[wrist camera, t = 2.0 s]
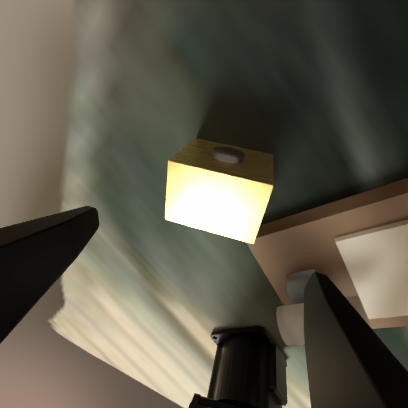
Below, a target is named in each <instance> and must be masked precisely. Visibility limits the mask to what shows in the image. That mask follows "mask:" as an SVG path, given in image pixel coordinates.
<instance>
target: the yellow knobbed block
mask: <svg viewBox="0 0 408 408" xmlns="http://www.w3.org/2000/svg"><path fill="white" fill-rule="evenodd" d="M273 186H274V180H273V154H269V153H264V152H259V151H255V150H250V149H245V148H241V147H236V146H232V145H227V144H222V143H218V142H213V141H209V140H204V139H199V138H196V139H195V140H193V141H192V142H191V143H190V144H188V145H187V146H186V147H185V148H184V149H182V150H181V151H180V152H179V153H177V154H176V155H175V156H174V157H172V158H171V159H170V160H169V161H168V174H167V191H166V209H165V219H166V220H169V221H173V222H177V223H180V224H184V225H187V226H191V227H194V228H198V229H202V230H205V231H209V232H212V233H216V234H219V235H223V236H226V237H230V238H234V239H237V240H241V241H244V242H248V243H251V244H254V241H255V238H256V236H257V233H258V230H259V227H260V224H261V221H262V218H263V215H264V212H265V209H266V206H267V204H268V201H269V198H270V195H271V192H272V189H273Z"/></svg>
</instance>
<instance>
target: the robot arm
mask: <svg viewBox="0 0 408 408" xmlns="http://www.w3.org/2000/svg"><path fill="white" fill-rule="evenodd" d="M98 227H99V218H98V211H97V209H96V208H93V207H90V206H84V207H81V208H77V209H73V210H69V211H65V212H61V213H58V214H54V215H50V216H46V217H42V218H38V219H34V220H30V221H26V222H22V223H19V224H15V225H11V226H7V227H3V228H0V344H1V342H2V341H3V340H4V339H5V338H6V337H7V336H8V334H9V333H10V332H11V331H12V330H13V329H14V328H15V327H16V326H17V324H18V323H19V322H20V321H21V320H22V319H23V318H24V316H25V315H26V314H27V313H28V312H29V311H30V310H31V309H32V308H33V306H34V305H35V304H36V303H37V302H38V301H39V300H40V299H41V297H42V296H43V295H44V294H45V293H46V292H47V291H48V290H49V288H50V287H51V286H52V285H53V284H54V283H55V282H56V280H57V279H58V278H59V277H60V276H61V275H62V274H63V273H64V272H65V270H66V269H67V268H68V267H69V266H70V265H71V264H72V263H73V261H74V260H75V259H76V258H77V257H78V255H79V254H80V253H81V251H82V250H83V249H84V247H85V246H86V245H87V243H88V242H89V240H90V239H91V238H92V236H93V235H94V233H95V232H96V231H97V229H98ZM211 338H212V339H213V341H214V342H215V343H216V344H217V350H216V355H215V360H214V365H213V370H212V375H211V380H210V385H209V390H208V395H207V398H206V397H202V396H201V395H200V394H196V393H195V394H194V397H193V399H192V401H191V403H190V405H189V408H282V405H284V406H286V404H287V385H286V367H287V362H286V360H285V357H284V356H283V354H282V353H281V351H280V350H279V348H278V347H277V345H276V344H275V343H274V342H273V340H272V339H271V338H270V336H269V335H268V333H267V332H266V330H265V329H264V328H262V327H253V328H243V329H234V330H224V331H214V332H212V333H211ZM304 342H305V351H306V361H307V371H308V380H309V390H310V399H311V408H408V371H407V370H406V369H405V367H404V366H403V365H402V364H401V363H400V362H399V360H398V359H397V358H396V357H395V356H394V354H393V353H392V352H391V351H390V350H389V348H388V347H387V346H386V345H385V344H384V342H383V341H382V340H381V339H380V338H379V337H378V335H377V334H376V333H375V332H374V331H373V329H372V328H371V327H370V326H369V325H368V323H367V322H366V321H365V320H364V319H363V317H362V316H361V315H360V314H359V313H358V312H357V310H356V309H355V308H354V307H353V306H352V304H351V303H350V302H349V301H348V300H347V298H346V297H345V296H344V295H343V294H342V292H341V291H340V290H339V289H338V288H337V287H336V285H335V284H334V283H333V282H332V281H331V279H330V278H329V277H328V276H327V275H326V274H323V273H319V272H314V273H313V274H312V275H311V277H310V278H309V280H308V282H307V284H306V285H305V288H304Z"/></svg>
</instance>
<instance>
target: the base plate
mask: <svg viewBox="0 0 408 408" xmlns="http://www.w3.org/2000/svg"><path fill="white" fill-rule="evenodd" d="M246 243H247V245H248V247H249V248H250V250H251V252H252V253H253V255H254V257H255V258H256V260H257V262H258V263H259V265H260V267H261V268H262V270H263V272H264V273H265V275H266V277H267V278H268V280H269V282H270V283H271V285H272V287H273V288H274V290H275V292H276V293H277V295H278V297H279V298H280V300H281V302H282V303H283V305H284V306H278V307H277V311H276V315H277V323H278V328H279V331H280V334H281V337H282V339H283V341H284V343H285V344H286V345H287V346H290V345H305V342H304V288H305V285H306V284H307V282H308V280H309V278H310V277H311V275H312V274H313V273H314V272H319V273H323V274H326V275H327V276H328V277H329V278H330V279H331V281H332V282H333V283H334V284H335V285H336V287H337V288H338V289H339V290H340V291H341V292H342V294H343V295H344V296H345V297H346V298H347V300H348V301H349V302H350V303H351V304H352V306H353V307H354V308H355V309H356V310H357V312H358V313H359V314H360V315H361V316H362V317H363V319H364V320H365V321H366V322H367V323H368V325H369V326H370V327H371V328H372V329H375V328H387V327H400V326H408V178H405V179H402V180H399V181H396V182H393V183H390V184H387V185H384V186H381V187H378V188H374V189H371V190H368V191H365V192H362V193H359V194H356V195H353V196H350V197H347V198H344V199H341V200H337V201H334V202H331V203H328V204H325V205H322V206H319V207H316V208H313V209H310V210H307V211H304V212H300V213H297V214H294V215H291V216H288V217H285V218H282V219H279V220H276V221H273V222H270V223H266V224H263V225H260V227H259V230H258V233H257V236H256V238H255V241H254V244H251V243H248V242H246Z"/></svg>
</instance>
